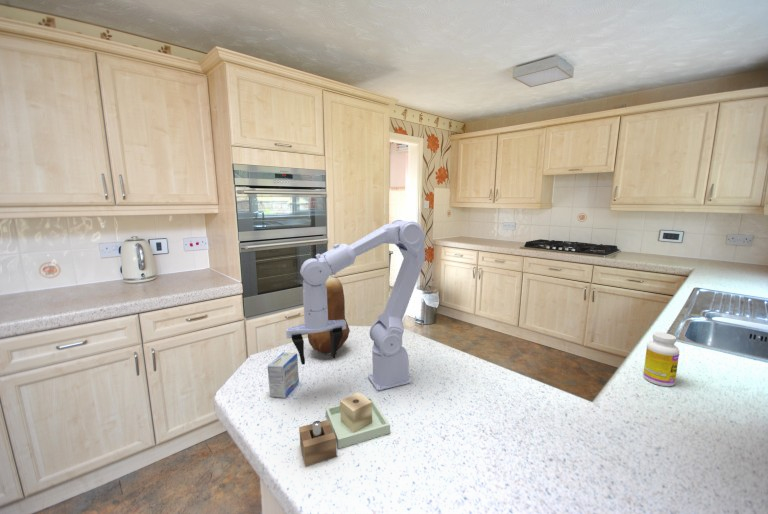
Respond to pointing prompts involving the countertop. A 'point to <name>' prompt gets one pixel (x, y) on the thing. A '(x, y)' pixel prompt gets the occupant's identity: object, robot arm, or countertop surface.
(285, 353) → the medicine box
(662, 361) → the supplement bottle
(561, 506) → the countertop surface
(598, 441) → the countertop surface
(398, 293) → the robot arm
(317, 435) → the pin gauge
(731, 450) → the countertop surface
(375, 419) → the tray
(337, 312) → the butternut squash
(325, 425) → the slotted wooden block
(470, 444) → the countertop surface
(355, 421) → the block
